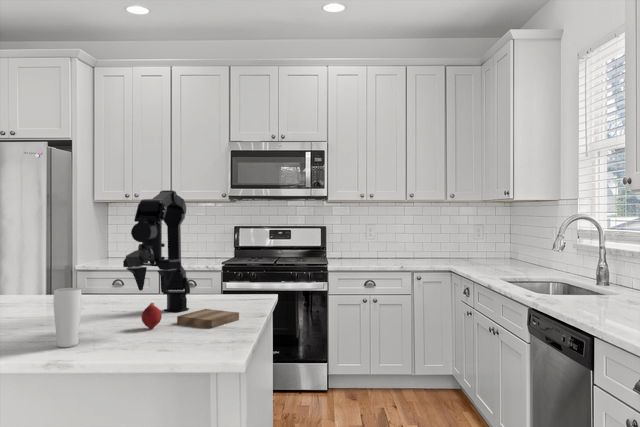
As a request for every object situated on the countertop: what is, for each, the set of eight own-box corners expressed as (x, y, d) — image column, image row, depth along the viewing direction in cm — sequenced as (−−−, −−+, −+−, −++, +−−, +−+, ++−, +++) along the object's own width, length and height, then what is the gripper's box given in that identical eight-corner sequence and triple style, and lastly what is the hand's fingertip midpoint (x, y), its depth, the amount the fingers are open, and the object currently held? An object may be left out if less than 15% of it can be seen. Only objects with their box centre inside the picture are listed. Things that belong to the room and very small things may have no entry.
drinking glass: (59, 342, 140) (59, 287, 140) (85, 342, 140) (85, 287, 140) (48, 349, 133) (48, 291, 133) (75, 348, 134) (75, 291, 134)
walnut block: (177, 325, 164) (177, 316, 164) (205, 317, 176) (205, 308, 176) (211, 330, 157) (211, 320, 157) (238, 321, 170) (239, 312, 170)
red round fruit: (155, 331, 153) (155, 304, 153) (137, 330, 154) (137, 303, 154) (164, 327, 159) (164, 301, 159) (147, 326, 160) (148, 300, 160)
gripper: (108, 240, 154) (108, 292, 154) (155, 242, 145) (155, 297, 145) (137, 239, 164) (137, 288, 164) (182, 240, 155) (182, 292, 155)
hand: (151, 291), depth 157 cm, fingers open, 9 cm apart
